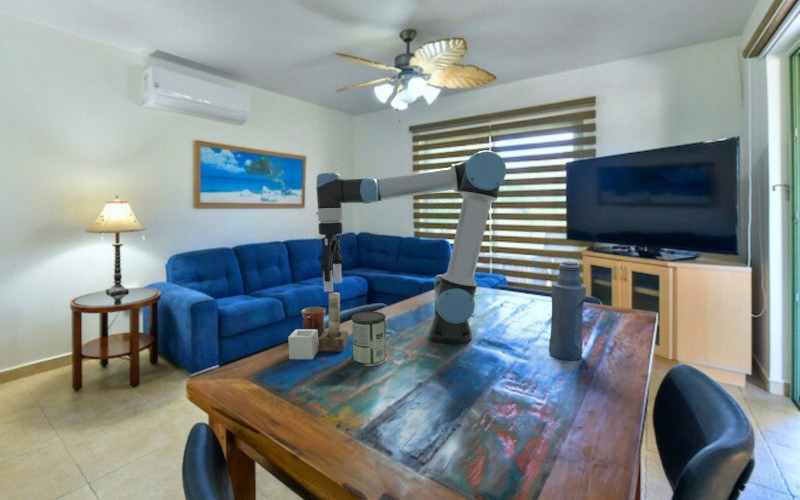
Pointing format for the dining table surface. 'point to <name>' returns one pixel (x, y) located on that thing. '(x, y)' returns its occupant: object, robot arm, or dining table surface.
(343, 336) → the socket block
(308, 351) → the white hollow square frame
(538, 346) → the dining table surface
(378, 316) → the coffee can
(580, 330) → the bottle
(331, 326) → the dowel
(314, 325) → the mug
